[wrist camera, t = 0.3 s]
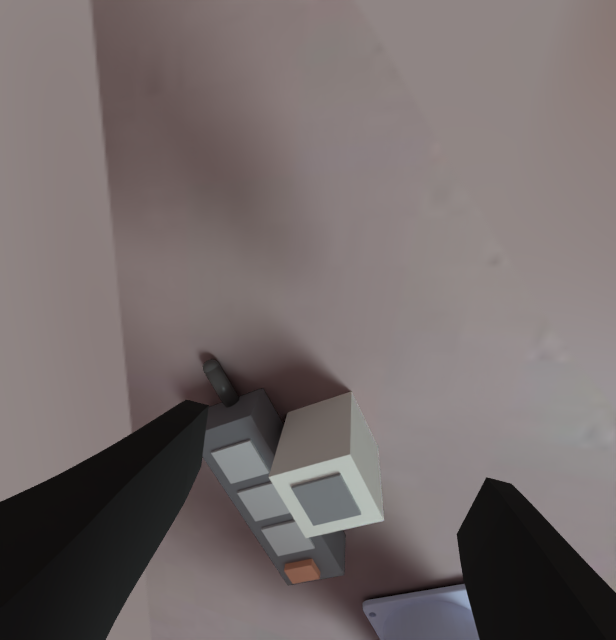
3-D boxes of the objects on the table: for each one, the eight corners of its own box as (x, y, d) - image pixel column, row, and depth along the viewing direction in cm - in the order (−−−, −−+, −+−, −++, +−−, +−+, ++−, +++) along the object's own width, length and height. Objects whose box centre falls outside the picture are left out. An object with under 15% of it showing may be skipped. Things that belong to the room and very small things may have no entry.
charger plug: (378, 446, 21) (384, 523, 16) (314, 464, 22) (302, 541, 17) (351, 391, 20) (350, 456, 15) (285, 412, 21) (264, 480, 16)
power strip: (348, 534, 24) (347, 581, 21) (294, 546, 25) (286, 592, 22) (242, 344, 20) (223, 371, 17) (183, 368, 21) (156, 397, 18)
